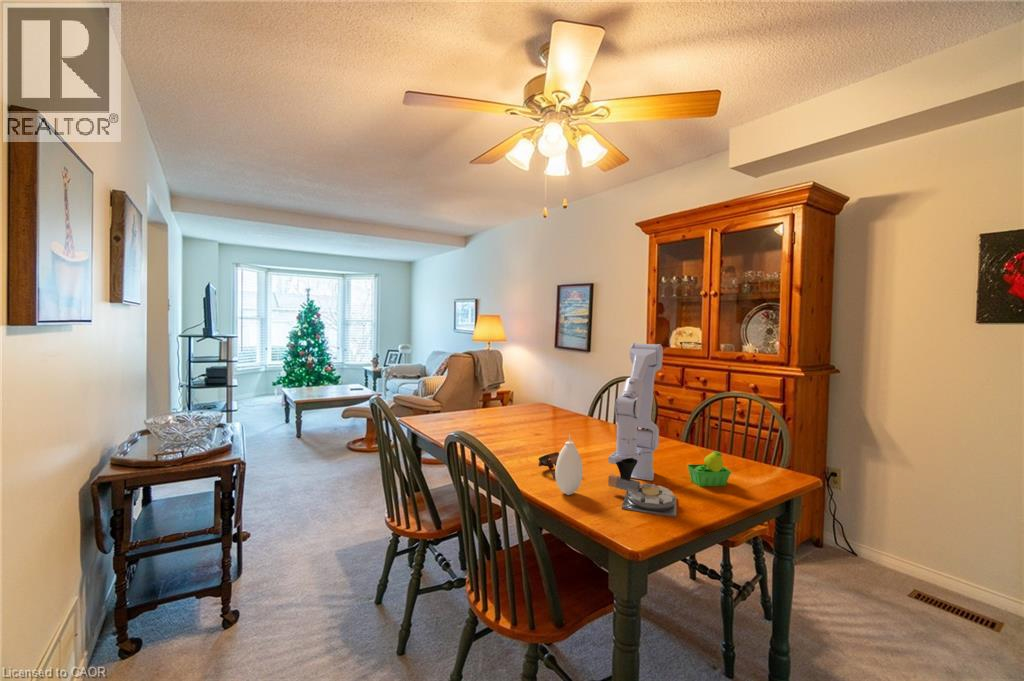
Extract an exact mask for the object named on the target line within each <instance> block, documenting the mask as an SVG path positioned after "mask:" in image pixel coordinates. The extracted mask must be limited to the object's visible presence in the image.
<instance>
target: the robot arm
mask: <svg viewBox="0 0 1024 681" xmlns="http://www.w3.org/2000/svg"><path fill="white" fill-rule="evenodd" d="M663 356H664V348H663V346H662V344H661V343H658V344H657V343H636V342H633V343H632V344H631V345H630V346H629V359H630V361H631V364H632V367H631V372H630V377H628V378H626V379H625V381H624V384H623V387H622V391H621V394H620V397H617V398H616V399H615V404H614V415H615V422H616V423H617V425H616V448H615V449H616V450H615V451H614V452H613V453H612V454H611V455H608V464H612V465H616V466H617V469H618V471H619V474H620V475H619V477H622V478H627V479H635V480H636V479H637V480H644V481H645V480H646V481H654V478H655V470H653V469H654V451H656V450H657V449H658V448H659V443H660V435H659V434H660V430H659V426H658V425H657V424H656V423H655V422H653V421H652V412H653V411H652V410H653V401H654V400H653V399H654V389H655V388H654V387H655V378H656V374H657V372H658V371H660V370H662V367H663V360H664V359H663ZM647 429H648V430H647Z"/></svg>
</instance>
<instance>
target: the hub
mask: <svg viewBox="0 0 1024 681" xmlns="http://www.w3.org/2000/svg"><path fill="white" fill-rule="evenodd" d="M650 484H651V483H645V485H642V484H641V485H642V491H641V493H643V494H645V495H652V496H658V495H661V494H659V487H658V486H659V485H656V484H655V485H650ZM625 491H626V492H625V495H624V498H623V501H622V505H621V509H622V510H627V511H632V512H639V513H644V514H652V515H658V516H665V517H670V518H677V495H673V496H674V498H673V500H672V502H669V503H666V504H662V503H660V502H659V504H650V503H645V501H642V502H640V501H638V500H635V499H633V498H631V497H630V496H629V495H628V491H627V490H625Z"/></svg>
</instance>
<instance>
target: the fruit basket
mask: <svg viewBox="0 0 1024 681" xmlns="http://www.w3.org/2000/svg"><path fill="white" fill-rule="evenodd" d="M722 456H723V455H722V453H721V452H719V451H716V450H715V451H713V452H711V453H709V454H708V455H706V456H705V457H704V459H703V462H704V464H701V463H700V464H698V463H697V464H687V465H686V466H687V469H688V472H689V477H690V480H691V482H692V483H694V484H695V485H698V487H719V486H720V487H723V486H724V487H725V486H726V485H727V483H728V480H729V477H730V475H731V473H732V470H730V469H729V468H727V467H725V466H724V461H723V458H722Z"/></svg>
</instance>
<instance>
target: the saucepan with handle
mask: <svg viewBox="0 0 1024 681" xmlns="http://www.w3.org/2000/svg"><path fill="white" fill-rule="evenodd" d="M645 484H646V483H645V482H644V483H642V484H641V481H638V480H636V479H635V480H634V479H632V478H630V479H627V478H622V477H621V476H620V475H615V474H609V475H608V487H610V488H616V489H620V490H624V491H628V495H629V496H630V497H631V498H633V499H635V500H638V501H640V502H642V501H645V503H650V504H659V502H660V503H662V504H666V503H669V502H672V500H673V498H674V496H675V495H674V493H673V491H672V490H670V489H669V488H666V487H665V486H663V485H657V486H658V487H659V494H661V495H658V496H652V495H645V494H643V493H641V491H642V485H645ZM649 484H650V485H655V486H656V484H654V483H649Z"/></svg>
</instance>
